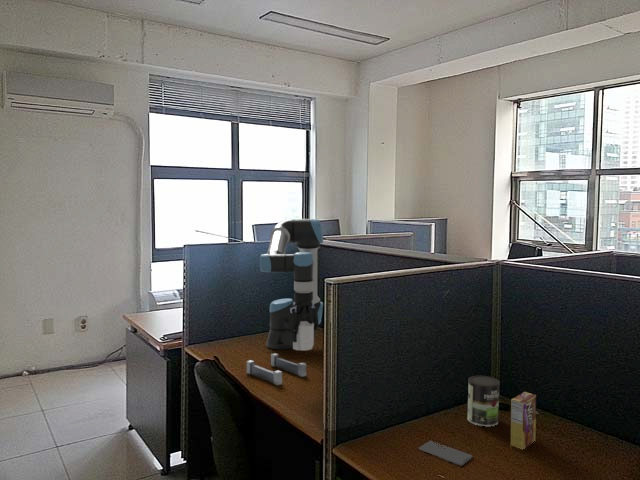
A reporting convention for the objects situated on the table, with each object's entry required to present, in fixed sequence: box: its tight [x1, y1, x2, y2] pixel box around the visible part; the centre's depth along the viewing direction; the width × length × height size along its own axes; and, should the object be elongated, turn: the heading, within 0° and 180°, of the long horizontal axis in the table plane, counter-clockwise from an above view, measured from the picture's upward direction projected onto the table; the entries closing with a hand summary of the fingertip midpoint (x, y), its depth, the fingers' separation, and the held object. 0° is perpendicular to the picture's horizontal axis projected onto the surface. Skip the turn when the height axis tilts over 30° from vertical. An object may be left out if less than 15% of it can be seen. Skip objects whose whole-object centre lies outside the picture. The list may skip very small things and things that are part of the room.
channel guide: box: [246, 352, 307, 386], centre depth 223 cm, size 16×20×5 cm
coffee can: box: [466, 375, 501, 428], centre depth 178 cm, size 10×10×14 cm
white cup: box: [294, 321, 314, 351], centre depth 209 cm, size 8×8×10 cm
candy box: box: [510, 391, 537, 450], centre depth 161 cm, size 9×4×15 cm, turn 133°
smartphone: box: [418, 440, 474, 467], centre depth 156 cm, size 8×1×15 cm
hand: (303, 347), depth 210 cm, fingers closed on white cup, 7 cm apart
